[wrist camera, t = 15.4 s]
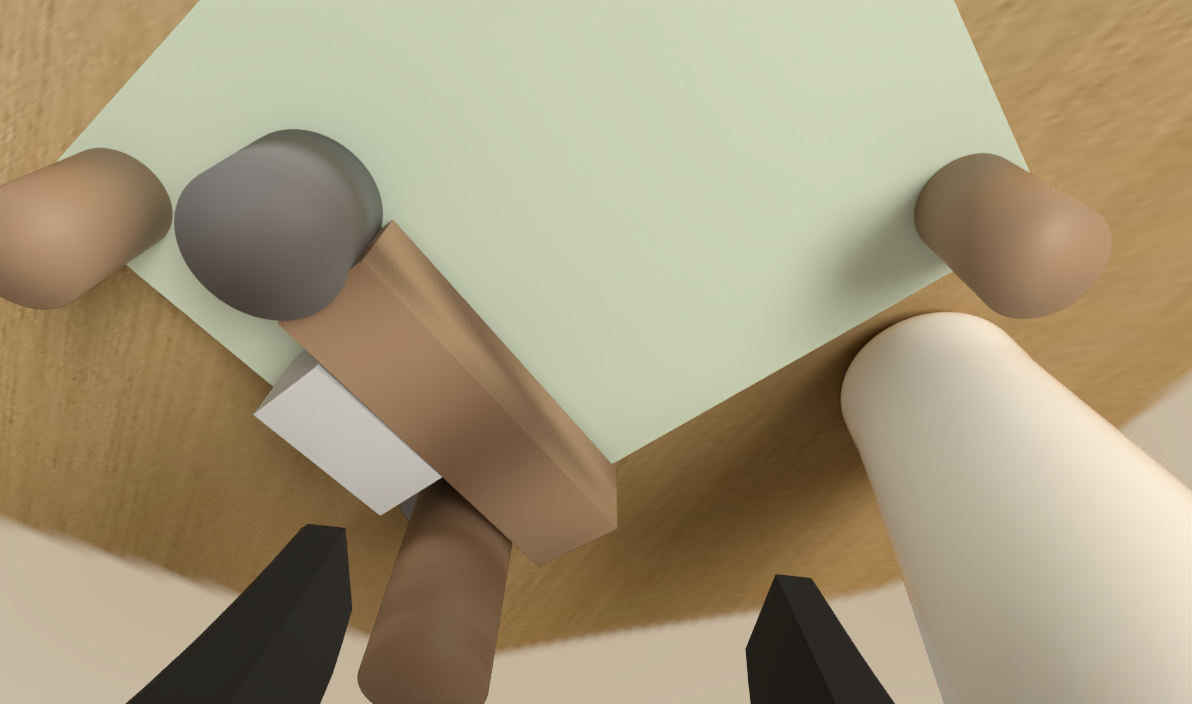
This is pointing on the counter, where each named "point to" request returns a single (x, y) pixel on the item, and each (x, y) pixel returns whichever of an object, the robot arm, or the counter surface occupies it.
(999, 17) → the counter surface
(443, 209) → the board
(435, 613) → the leg peg
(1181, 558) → the white tumbler
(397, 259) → the hinged leg
